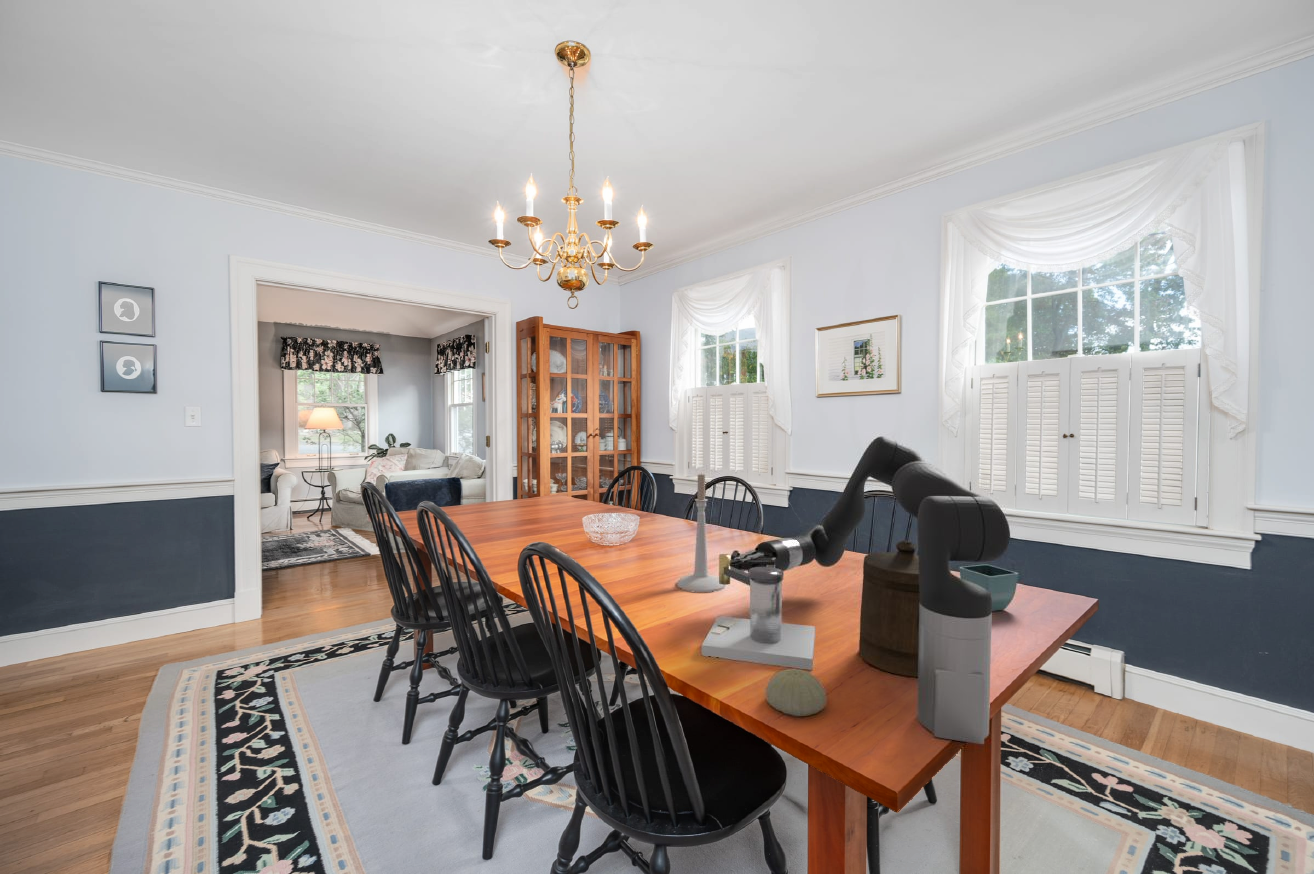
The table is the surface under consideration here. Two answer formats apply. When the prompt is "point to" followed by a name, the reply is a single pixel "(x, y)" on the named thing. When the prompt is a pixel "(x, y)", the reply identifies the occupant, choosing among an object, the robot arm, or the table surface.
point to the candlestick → (700, 552)
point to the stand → (760, 644)
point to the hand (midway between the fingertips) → (725, 567)
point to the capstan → (759, 597)
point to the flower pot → (992, 582)
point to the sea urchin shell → (796, 693)
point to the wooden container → (891, 610)
